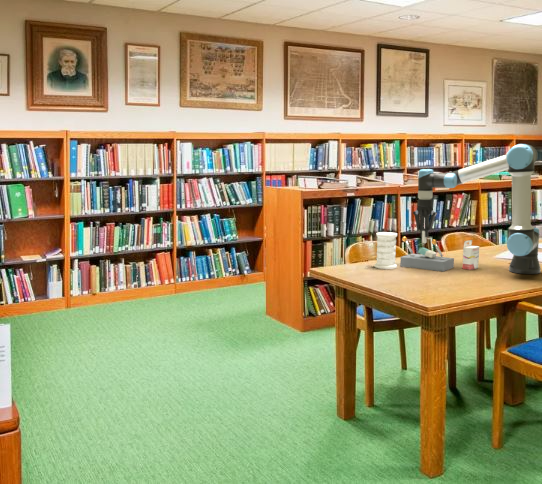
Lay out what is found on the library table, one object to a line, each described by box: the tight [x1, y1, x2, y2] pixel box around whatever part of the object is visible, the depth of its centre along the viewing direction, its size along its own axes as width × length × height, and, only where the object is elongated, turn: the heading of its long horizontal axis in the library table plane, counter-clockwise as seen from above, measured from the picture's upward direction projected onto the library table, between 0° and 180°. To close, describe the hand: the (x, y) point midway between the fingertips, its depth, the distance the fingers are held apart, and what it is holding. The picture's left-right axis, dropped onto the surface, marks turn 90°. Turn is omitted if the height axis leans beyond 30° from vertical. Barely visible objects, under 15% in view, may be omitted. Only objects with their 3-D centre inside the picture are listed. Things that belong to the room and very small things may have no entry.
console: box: [399, 253, 455, 272], centre depth 342 cm, size 24×14×6 cm, turn 53°
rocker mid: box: [417, 247, 438, 258], centre depth 342 cm, size 8×5×2 cm, turn 54°
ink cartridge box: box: [462, 239, 480, 271], centre depth 337 cm, size 9×5×15 cm, turn 134°
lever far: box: [401, 236, 414, 254], centre depth 348 cm, size 3×3×10 cm
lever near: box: [431, 239, 444, 257], centre depth 338 cm, size 3×3×10 cm
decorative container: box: [374, 231, 398, 270], centre depth 341 cm, size 12×12×18 cm
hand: (424, 242), depth 343 cm, fingers closed
